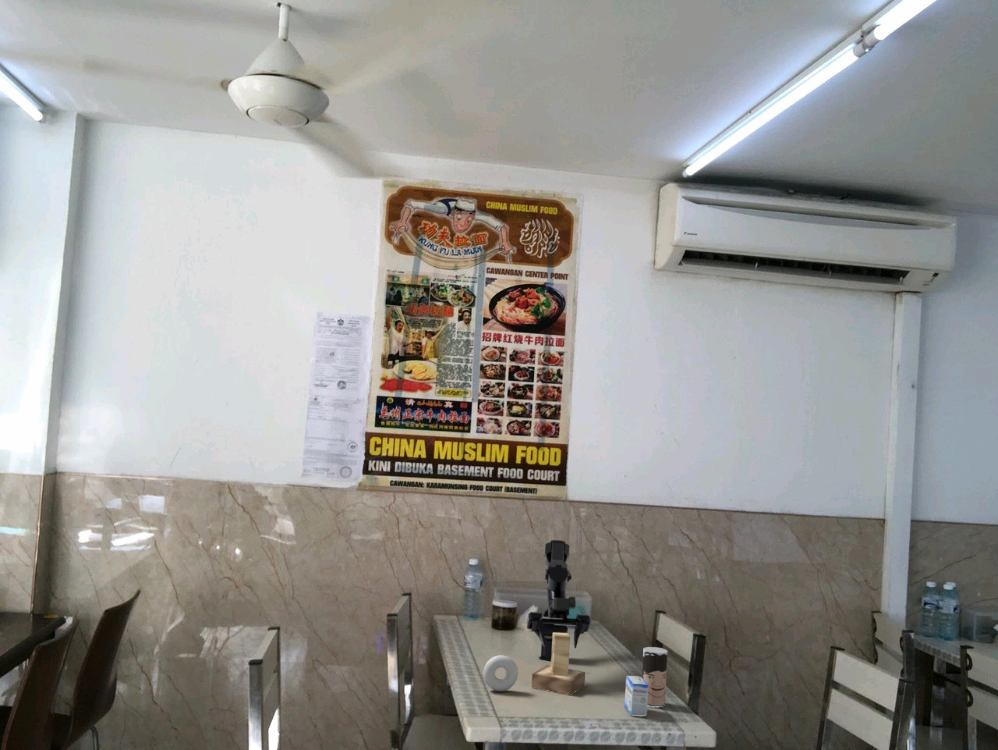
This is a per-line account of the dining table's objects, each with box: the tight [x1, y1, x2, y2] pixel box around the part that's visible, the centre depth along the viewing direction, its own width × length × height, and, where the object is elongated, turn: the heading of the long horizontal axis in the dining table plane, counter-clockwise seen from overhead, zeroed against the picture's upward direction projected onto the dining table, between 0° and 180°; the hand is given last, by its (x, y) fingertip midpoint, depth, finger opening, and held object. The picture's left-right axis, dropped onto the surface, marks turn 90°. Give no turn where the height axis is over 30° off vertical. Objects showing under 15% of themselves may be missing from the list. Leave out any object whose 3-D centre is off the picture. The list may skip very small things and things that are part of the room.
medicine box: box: [623, 675, 648, 716], centre depth 234 cm, size 8×4×9 cm, turn 5°
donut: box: [482, 654, 519, 692], centre depth 246 cm, size 10×4×10 cm, turn 96°
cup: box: [641, 646, 669, 706], centre depth 243 cm, size 7×7×15 cm
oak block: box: [550, 633, 571, 675], centre depth 254 cm, size 4×4×11 cm
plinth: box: [531, 664, 586, 696], centre depth 254 cm, size 12×12×4 cm
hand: (560, 646), depth 256 cm, fingers open, 9 cm apart
